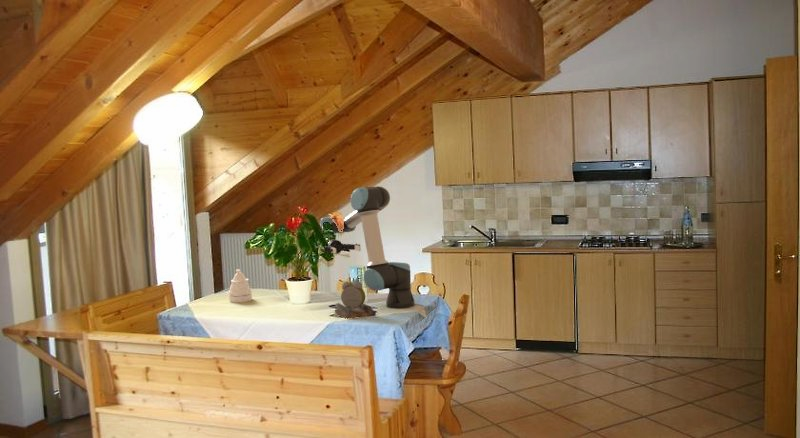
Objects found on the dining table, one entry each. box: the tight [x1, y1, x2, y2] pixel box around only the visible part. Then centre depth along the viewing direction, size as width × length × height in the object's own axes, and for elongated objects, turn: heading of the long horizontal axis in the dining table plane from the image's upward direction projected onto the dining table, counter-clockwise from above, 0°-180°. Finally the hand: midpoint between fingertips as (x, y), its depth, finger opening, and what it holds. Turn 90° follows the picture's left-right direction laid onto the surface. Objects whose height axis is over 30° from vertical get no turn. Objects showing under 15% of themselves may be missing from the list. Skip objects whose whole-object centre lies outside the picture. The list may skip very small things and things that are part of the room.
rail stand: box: [334, 302, 374, 320], centre depth 350 cm, size 14×18×4 cm
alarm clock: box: [340, 281, 366, 312], centre depth 347 cm, size 12×7×15 cm, turn 70°
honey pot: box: [228, 269, 253, 303], centre depth 398 cm, size 13×13×18 cm
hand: (347, 249), depth 360 cm, fingers open, 13 cm apart
